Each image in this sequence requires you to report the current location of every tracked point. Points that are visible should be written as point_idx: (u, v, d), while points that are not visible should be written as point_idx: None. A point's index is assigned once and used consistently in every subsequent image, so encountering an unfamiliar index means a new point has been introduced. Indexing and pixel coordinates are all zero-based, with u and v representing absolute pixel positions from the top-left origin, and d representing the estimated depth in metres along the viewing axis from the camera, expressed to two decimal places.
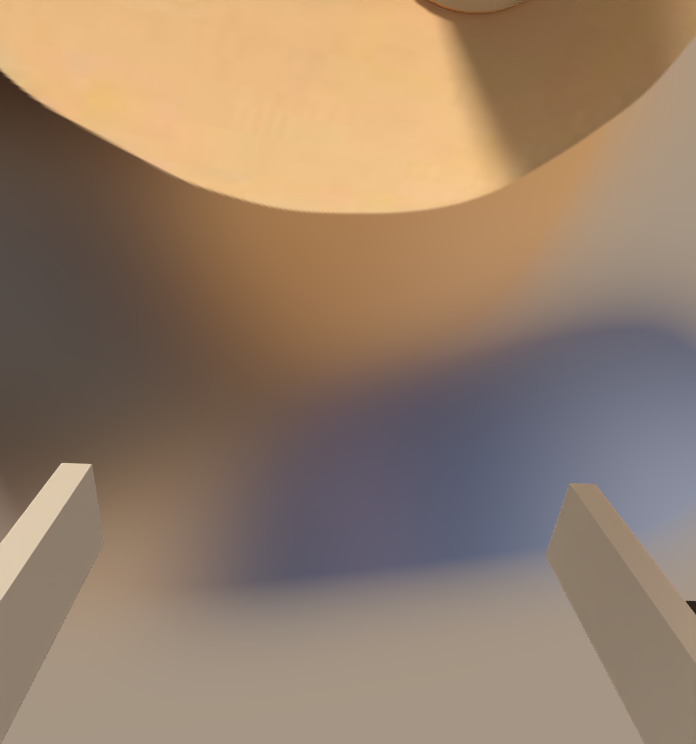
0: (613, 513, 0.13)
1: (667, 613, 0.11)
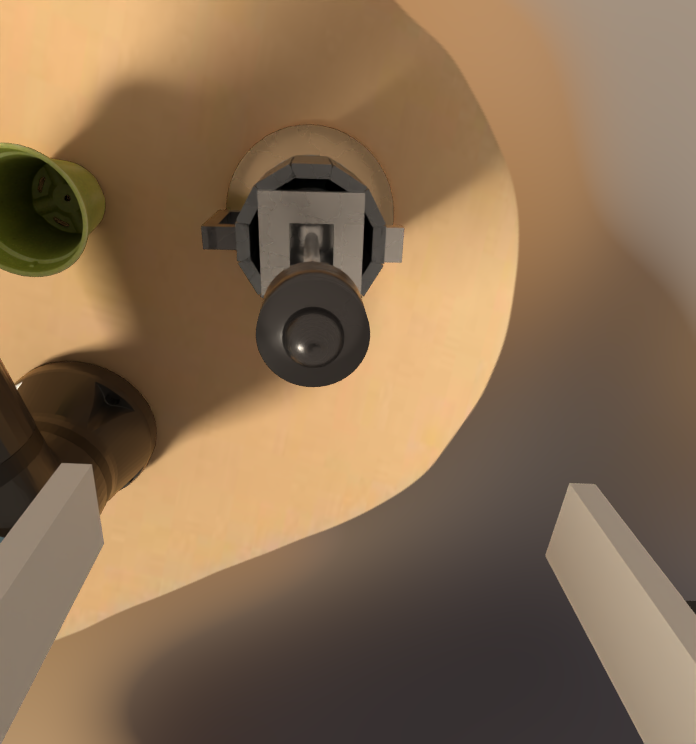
0: (613, 513, 0.13)
1: (667, 613, 0.11)
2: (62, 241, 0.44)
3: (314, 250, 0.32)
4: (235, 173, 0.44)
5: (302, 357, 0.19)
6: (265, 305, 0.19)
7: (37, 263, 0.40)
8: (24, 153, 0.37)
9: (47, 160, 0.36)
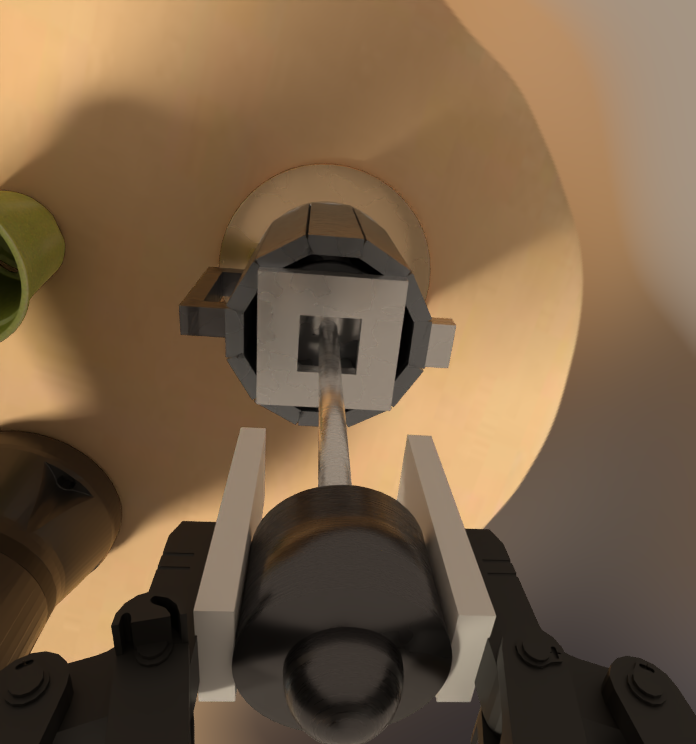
0: (435, 458, 0.15)
1: (441, 533, 0.12)
2: (5, 294, 0.34)
3: (334, 367, 0.22)
4: (233, 219, 0.35)
5: (321, 740, 0.09)
6: (253, 623, 0.10)
7: None
8: None
9: None
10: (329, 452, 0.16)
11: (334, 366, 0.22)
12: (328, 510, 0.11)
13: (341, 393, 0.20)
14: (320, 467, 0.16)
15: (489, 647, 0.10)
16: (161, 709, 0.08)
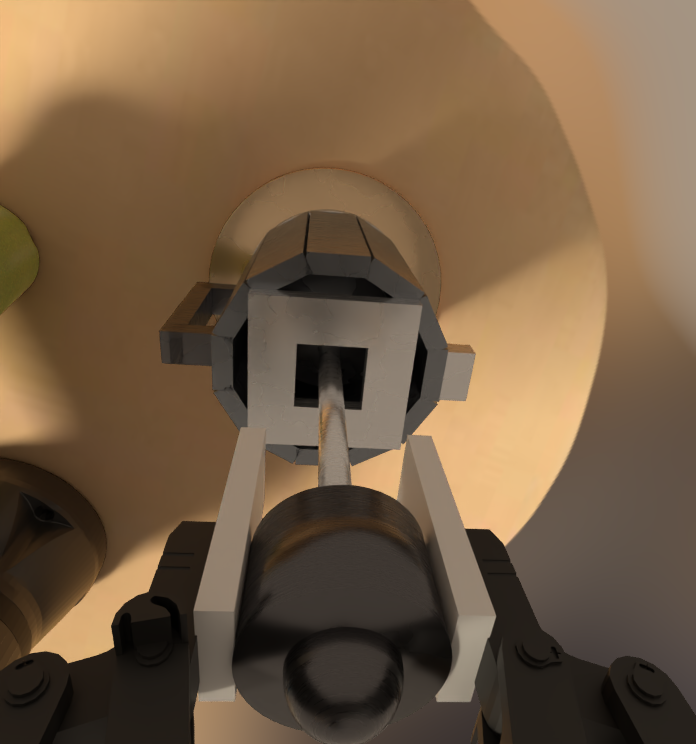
0: (435, 458, 0.15)
1: (441, 533, 0.12)
2: None
3: (334, 367, 0.22)
4: (224, 229, 0.31)
5: (321, 740, 0.09)
6: (253, 623, 0.10)
7: None
8: None
9: None
10: (329, 452, 0.16)
11: (334, 366, 0.22)
12: (328, 510, 0.11)
13: (341, 393, 0.20)
14: (320, 467, 0.16)
15: (489, 647, 0.10)
16: (161, 709, 0.08)
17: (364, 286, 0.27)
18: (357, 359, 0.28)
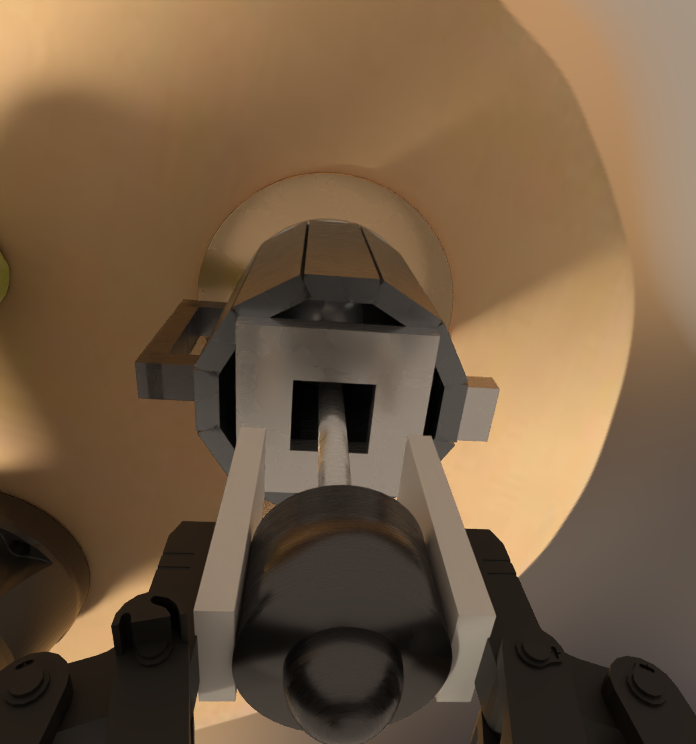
0: (435, 458, 0.15)
1: (441, 533, 0.12)
2: None
3: None
4: (213, 240, 0.28)
5: (321, 741, 0.09)
6: (253, 623, 0.10)
7: None
8: None
9: None
10: (329, 452, 0.16)
11: None
12: (328, 510, 0.11)
13: (341, 393, 0.20)
14: (320, 467, 0.16)
15: (490, 647, 0.10)
16: (161, 709, 0.08)
17: None
18: None
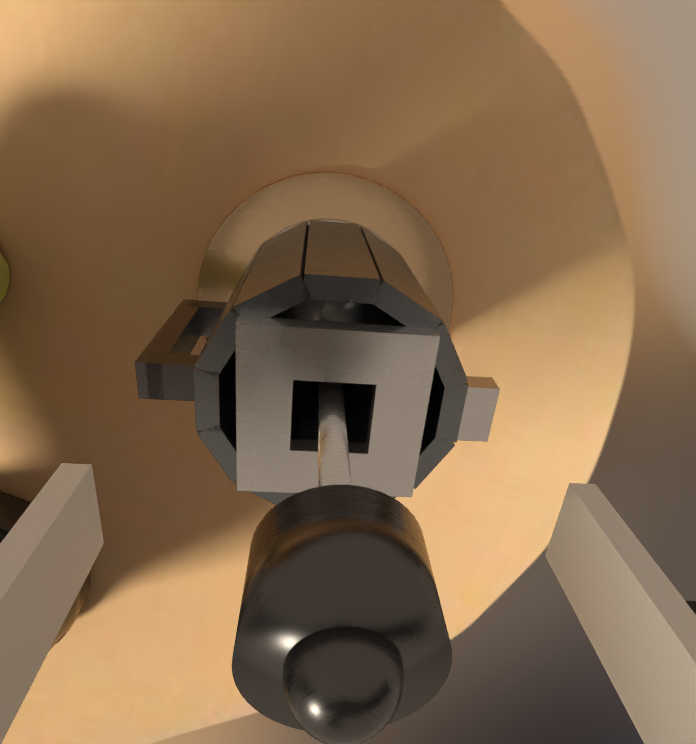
0: (613, 513, 0.13)
1: (667, 613, 0.11)
2: None
3: None
4: (213, 240, 0.28)
5: (321, 740, 0.09)
6: (253, 622, 0.10)
7: None
8: None
9: None
10: (329, 452, 0.16)
11: None
12: (328, 510, 0.11)
13: (341, 393, 0.20)
14: (320, 467, 0.16)
15: None
16: None
17: None
18: None
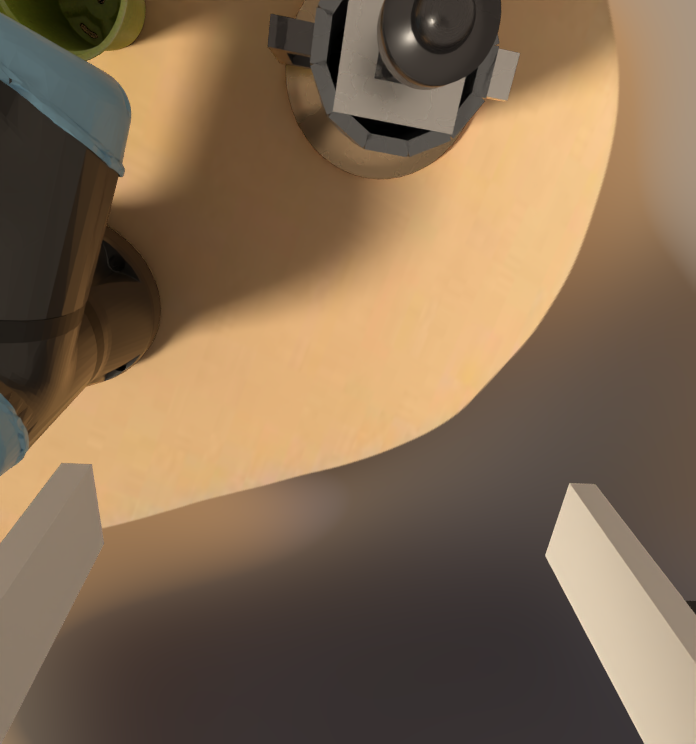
0: (613, 513, 0.13)
1: (667, 613, 0.11)
2: (87, 47, 0.36)
3: None
4: (305, 2, 0.37)
5: (434, 20, 0.18)
6: None
7: None
8: None
9: None
10: None
11: None
12: None
13: None
14: None
15: None
16: None
17: None
18: None
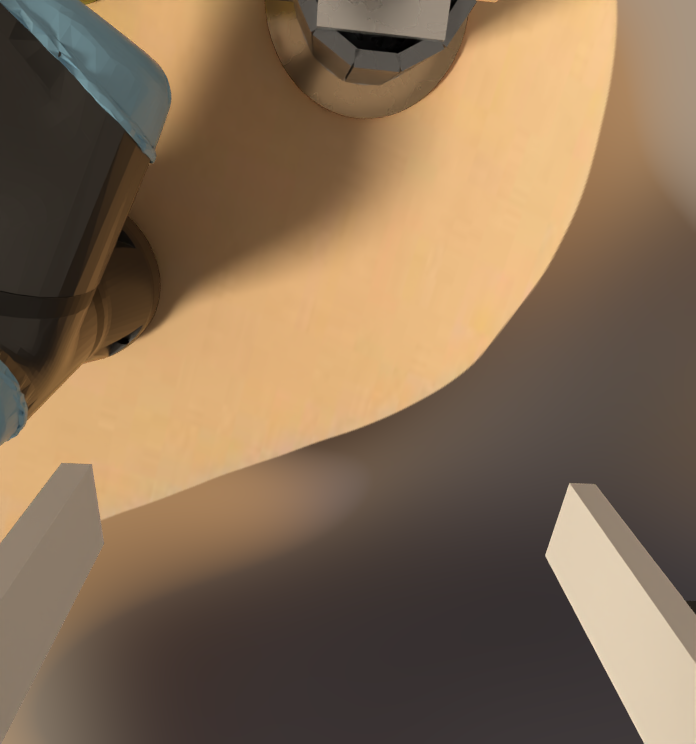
0: (613, 513, 0.13)
1: (667, 613, 0.11)
2: None
3: None
4: None
5: None
6: None
7: None
8: None
9: None
10: None
11: None
12: None
13: None
14: None
15: None
16: None
17: None
18: None
